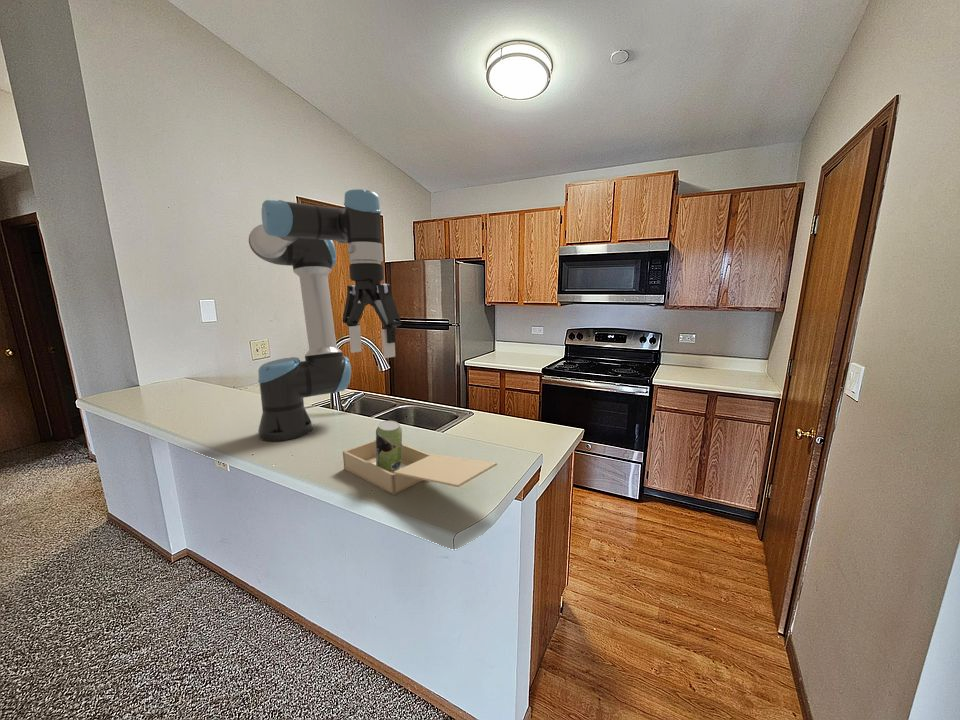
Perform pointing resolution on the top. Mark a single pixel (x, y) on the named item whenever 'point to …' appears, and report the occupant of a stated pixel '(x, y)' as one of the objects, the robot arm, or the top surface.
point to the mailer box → (365, 467)
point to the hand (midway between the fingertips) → (372, 354)
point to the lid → (446, 469)
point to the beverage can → (389, 445)
